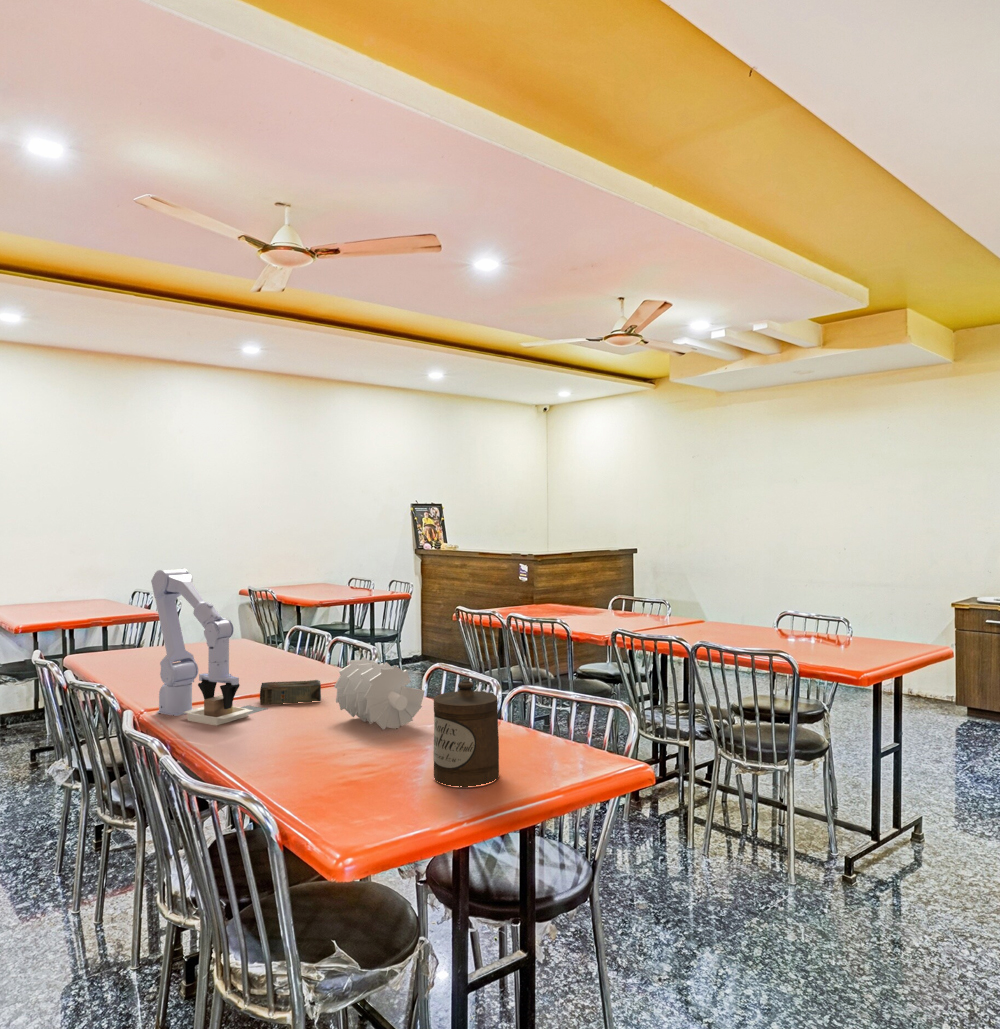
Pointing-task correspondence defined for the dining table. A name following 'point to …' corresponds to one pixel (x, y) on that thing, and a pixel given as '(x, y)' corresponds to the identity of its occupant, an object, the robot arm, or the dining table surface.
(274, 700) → the beverage carton
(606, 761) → the dining table surface
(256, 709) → the mat
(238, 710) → the white tray
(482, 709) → the wooden container
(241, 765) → the dining table surface
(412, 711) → the spiral staircase
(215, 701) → the walnut block
